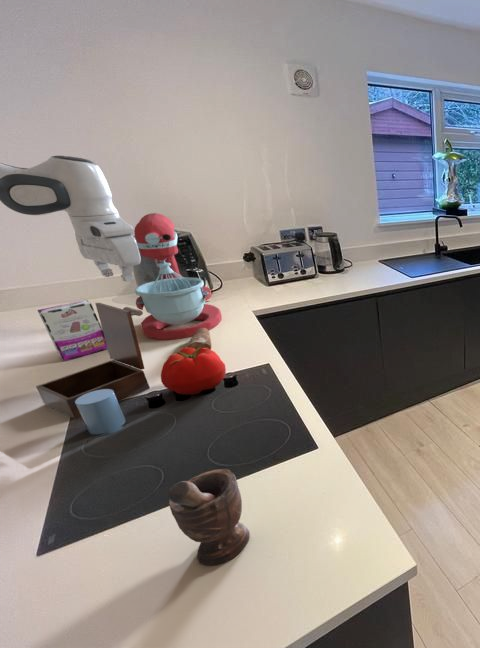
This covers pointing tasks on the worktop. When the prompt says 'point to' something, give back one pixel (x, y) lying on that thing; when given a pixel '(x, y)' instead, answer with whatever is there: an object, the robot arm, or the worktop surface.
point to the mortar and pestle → (210, 515)
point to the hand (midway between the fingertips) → (118, 278)
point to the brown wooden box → (92, 385)
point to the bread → (200, 339)
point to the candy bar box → (74, 329)
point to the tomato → (192, 371)
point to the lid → (121, 334)
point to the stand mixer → (170, 285)
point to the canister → (101, 412)
